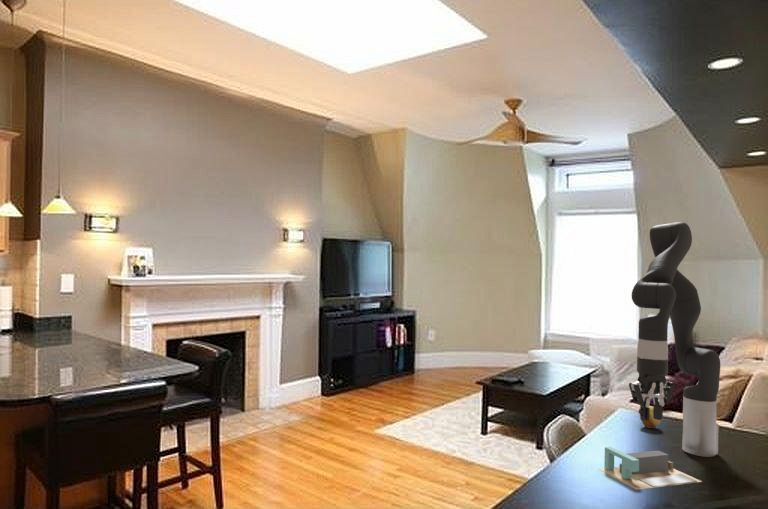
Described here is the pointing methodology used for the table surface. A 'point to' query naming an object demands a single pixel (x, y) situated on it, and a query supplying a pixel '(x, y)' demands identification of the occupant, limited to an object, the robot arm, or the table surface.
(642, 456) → the grey block
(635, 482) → the board
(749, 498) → the table surface
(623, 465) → the green bracket
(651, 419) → the fruit
